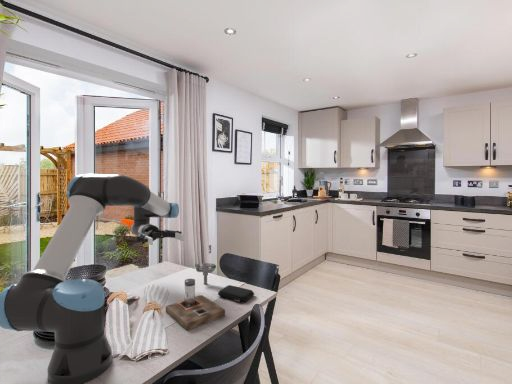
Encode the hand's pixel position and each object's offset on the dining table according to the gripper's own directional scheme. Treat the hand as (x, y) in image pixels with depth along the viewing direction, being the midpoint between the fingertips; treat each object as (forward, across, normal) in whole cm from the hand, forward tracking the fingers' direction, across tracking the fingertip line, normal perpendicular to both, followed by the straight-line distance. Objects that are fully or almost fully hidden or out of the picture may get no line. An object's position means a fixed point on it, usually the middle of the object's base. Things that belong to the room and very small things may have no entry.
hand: (167, 239), depth 121 cm
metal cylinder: (+15, -3, -26) cm, 30 cm away
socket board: (+19, -3, -26) cm, 32 cm away
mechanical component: (-5, -22, -26) cm, 34 cm away
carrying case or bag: (+16, -24, -26) cm, 39 cm away
